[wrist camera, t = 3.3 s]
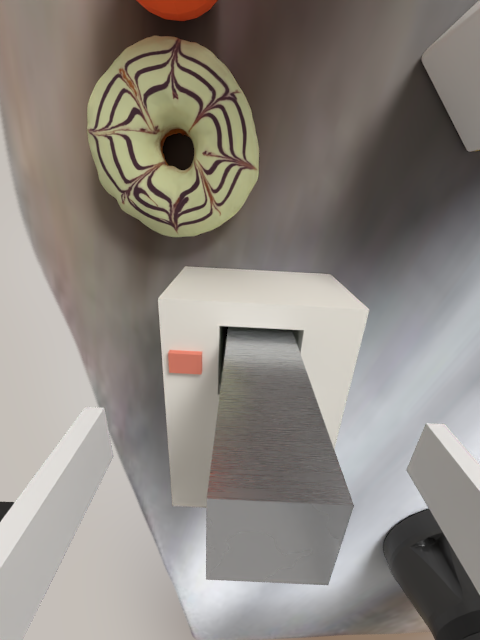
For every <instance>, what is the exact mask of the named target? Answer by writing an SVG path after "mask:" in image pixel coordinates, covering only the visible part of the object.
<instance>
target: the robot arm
mask: <svg viewBox="0 0 480 640" xmlns="http://www.w3.org/2000/svg"><path fill="white" fill-rule="evenodd" d="M112 458H113V452H112V446H111V441H110V436H109V430H108V425H107V420H106V414H105V409H104V408H96V407H85V408H84V409H83V411H82V412H81V414H80V415H79V416H78V418H77V419H76V420H75V422H74V423H73V424H72V426H71V427H70V428H69V430H68V431H67V433H66V434H65V435H64V437H63V438H62V439H61V441H60V442H59V443H58V445H57V446H56V447H55V449H54V450H53V451H52V453H51V454H50V456H49V457H48V458H47V460H46V461H45V462H44V464H43V465H42V466H41V468H40V469H39V470H38V472H37V473H36V475H35V476H34V477H33V478H32V480H31V481H30V483H29V484H28V485H27V487H26V488H25V489H24V491H23V492H22V493H21V495H20V496H19V498H18V499H17V500H16V501H15V502H0V640H23V638H24V636H25V634H26V632H27V630H28V628H29V626H30V624H31V622H32V620H33V618H34V616H35V614H36V612H37V610H38V608H39V606H40V604H41V602H42V600H43V598H44V596H45V594H46V592H47V590H48V588H49V586H50V584H51V582H52V580H53V578H54V576H55V574H56V572H57V570H58V567H59V565H60V563H61V561H62V559H63V557H64V555H65V553H66V551H67V549H68V547H69V545H70V543H71V541H72V539H73V537H74V535H75V533H76V531H77V529H78V527H79V525H80V523H81V521H82V519H83V517H84V515H85V513H86V511H87V509H88V507H89V505H90V503H91V501H92V499H93V497H94V495H95V493H96V491H97V489H98V486H99V484H100V482H101V480H102V478H103V476H104V474H105V472H106V470H107V468H108V466H109V464H110V462H111V460H112ZM407 472H408V474H409V475H410V477H411V479H412V480H413V482H414V484H415V486H416V487H417V489H418V491H419V492H420V494H421V496H422V497H423V499H424V501H425V503H426V504H427V506H428V508H429V510H426V511H423V512H420V513H417V514H415V515H413V516H411V517H409V518H407V519H405V520H404V521H402V522H401V523H399V524H398V525H397V526H395V527H394V528H393V529H392V530H391V532H390V533H389V534H388V536H387V537H386V539H385V542H384V545H383V551H384V555H385V558H386V560H387V563H388V565H389V568H390V570H391V573H392V575H393V576H394V578H395V580H396V581H397V582H398V584H399V585H400V587H401V588H402V590H403V591H404V593H405V594H406V596H407V597H408V598H409V600H410V601H411V603H412V604H413V606H414V607H415V609H416V610H417V612H418V613H419V614H420V616H421V617H422V619H423V620H424V622H425V623H426V625H427V626H428V627H429V629H430V631H431V632H432V634H433V636H434V639H435V640H480V464H479V463H478V462H477V461H476V460H475V459H474V458H473V456H472V455H471V454H470V453H469V452H468V451H467V449H466V448H465V447H464V446H463V445H462V444H461V443H460V441H459V440H458V439H457V438H456V437H455V436H454V434H453V433H452V432H451V431H450V430H449V429H448V428H447V426H446V425H445V424H431V423H426V425H425V427H424V429H423V432H422V434H421V436H420V439H419V441H418V444H417V446H416V448H415V451H414V453H413V455H412V458H411V460H410V463H409V465H408V467H407Z"/></svg>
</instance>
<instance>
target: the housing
mask: <svg viewBox="0 0 480 640" xmlns="http://www.w3.org/2000/svg"><path fill="white" fill-rule="evenodd" d="M158 307H159V321H160V336H161V350H162V364H163V379H164V393H165V407H166V422H167V436H168V451H169V465H170V479H171V494H172V506H184V507H205V508H207V492H208V484H209V476H210V468H211V460H212V452H213V444H214V436H215V428H216V420H217V413H218V405H219V397H220V389H221V381H222V373H223V365H224V357H225V349H226V341H227V339H225V333H226V326H232V327H251V328H270V329H289V330H292V331H293V334H294V337H295V340H296V343H297V346H298V348H299V351H300V354H301V357H302V360H303V363H304V366H305V368H306V371H307V374H308V377H309V380H310V383H311V385H312V388H313V391H314V394H315V397H316V400H317V402H318V405H319V408H320V411H321V414H322V417H323V420H324V422H325V425H326V428H327V431H328V434H329V437H330V439H331V442H332V445H333V448H335V444H336V440H337V436H338V432H339V429H340V425H341V421H342V417H343V413H344V409H345V405H346V401H347V397H348V393H349V389H350V385H351V381H352V377H353V373H354V369H355V365H356V361H357V357H358V353H359V349H360V345H361V341H362V337H363V333H364V329H365V325H366V321H367V317H368V313H369V309H368V308H367V307H366V306H365V305H364V304H363V303H361V302H360V301H359V300H358V299H357V298H356V297H355V296H354V295H353V294H352V293H351V292H349V291H348V290H347V289H346V288H345V287H344V286H343V285H342V284H341V283H340V282H338V281H337V280H336V279H335V278H334V277H333V276H332V275H331V274H318V273H300V272H281V271H263V270H244V269H225V268H207V267H188V266H185V267H184V268H183V270H182V271H181V272H180V273H179V274H178V275H177V277H176V278H175V279H174V280H173V281H172V283H171V284H170V285H169V286H168V287H167V288H166V290H165V291H164V292H163V293H162V294H161V295H160V297H159V298H158Z"/></svg>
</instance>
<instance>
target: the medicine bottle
mask: <svg viewBox="0 0 480 640" xmlns="http://www.w3.org/2000/svg"><path fill="white" fill-rule="evenodd" d="M421 60H422V63H423V65H424V67H425V69H426V71H427V73H428V75H429V77H430V79H431V81H432V83H433V85H434V87H435V89H436V91H437V93H438V95H439V97H440V99H441V100H442V102H443V104H444V106H445V108H446V110H447V112H448V114H449V116H450V118H451V120H452V122H453V124H454V126H455V128H456V130H457V132H458V134H459V136H460V138H461V140H462V142H463V144H464V146H465V148H466V150H467V151H469V152H474V151H480V0H479V1H478V2H477V3H476V4H475V5H474V6H472V7H471V8H470V9H469V10H468V11H467V12H466V13H465V14H464V15H463V16H462V17H461V18H460V19H459V20H458V21H457V22H455V23H454V24H453V25H452V26H451V27H450V28H449V29H448V30H447V31H446V32H445V33H444V34H443V35H442V36H441V37H440V38H439V39H437V40H436V41H435V42H434V43H433V44H432V45H431V46H430V47H429V48H428V49H427V50H426V51H425V52H424V54H423V55H422V59H421Z"/></svg>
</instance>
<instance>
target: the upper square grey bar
mask: <svg viewBox="0 0 480 640" xmlns="http://www.w3.org/2000/svg"><path fill="white" fill-rule="evenodd" d="M353 507H354V505H353V502H352V499H351V496H350V493H349V491H348V488H347V485H346V482H345V479H344V476H343V474H342V471H341V468H340V465H339V462H338V459H337V456H336V454H335V451H334V448H333V445H332V442H331V439H330V437H329V434H328V431H327V428H326V425H325V422H324V420H323V417H322V414H321V411H320V408H319V405H318V402H317V400H316V397H315V394H314V391H313V388H312V385H311V383H310V380H309V377H308V374H307V371H306V368H305V366H304V363H303V360H302V357H301V354H300V351H299V348H298V346H297V343H296V340H295V337H294V334H293V331H292V330H289V329H270V328H251V327H232V326H228V334H227V341H226V349H225V357H224V365H223V373H222V381H221V389H220V397H219V405H218V413H217V420H216V428H215V436H214V444H213V452H212V460H211V468H210V476H209V484H208V492H207V521H206V579H208V580H230V581H251V582H272V583H293V584H314V585H328V584H329V581H330V578H331V574H332V571H333V568H334V565H335V562H336V559H337V556H338V553H339V550H340V547H341V544H342V541H343V538H344V534H345V531H346V528H347V525H348V522H349V519H350V516H351V513H352V510H353Z"/></svg>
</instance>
